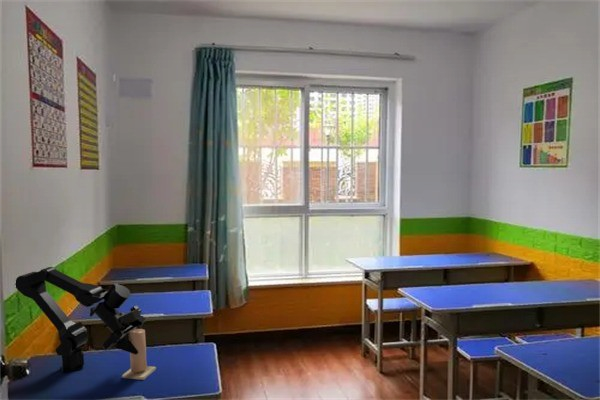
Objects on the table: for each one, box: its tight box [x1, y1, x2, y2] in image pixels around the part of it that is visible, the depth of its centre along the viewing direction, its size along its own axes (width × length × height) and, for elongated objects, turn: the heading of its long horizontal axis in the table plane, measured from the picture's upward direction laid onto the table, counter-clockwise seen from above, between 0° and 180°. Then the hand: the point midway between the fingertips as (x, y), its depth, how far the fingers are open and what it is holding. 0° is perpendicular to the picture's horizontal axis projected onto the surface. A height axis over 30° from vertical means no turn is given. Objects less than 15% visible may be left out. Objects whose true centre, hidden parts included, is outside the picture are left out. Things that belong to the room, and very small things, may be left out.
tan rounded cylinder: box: [128, 328, 148, 372], centre depth 162 cm, size 5×5×13 cm
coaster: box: [121, 365, 157, 381], centre depth 162 cm, size 8×8×1 cm
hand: (141, 350), depth 161 cm, fingers closed on tan rounded cylinder, 5 cm apart
